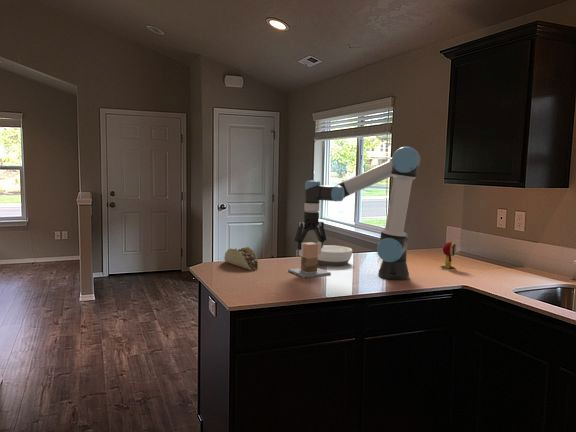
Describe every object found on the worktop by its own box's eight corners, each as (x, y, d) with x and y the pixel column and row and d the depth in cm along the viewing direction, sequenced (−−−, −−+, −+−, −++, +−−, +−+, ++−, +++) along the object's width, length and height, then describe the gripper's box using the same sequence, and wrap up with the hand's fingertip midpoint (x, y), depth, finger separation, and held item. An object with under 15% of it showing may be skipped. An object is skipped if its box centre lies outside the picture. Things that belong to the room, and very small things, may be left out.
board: (330, 275, 250) (330, 272, 250) (303, 277, 242) (303, 275, 242) (314, 269, 263) (314, 266, 263) (288, 271, 255) (288, 269, 255)
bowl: (306, 264, 274) (307, 249, 273) (318, 257, 295) (319, 244, 294) (346, 269, 266) (347, 253, 265) (355, 261, 287) (356, 247, 286)
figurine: (455, 271, 269) (457, 244, 267) (436, 269, 274) (438, 242, 272) (458, 268, 276) (460, 242, 274) (440, 266, 281) (442, 240, 279)
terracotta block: (317, 257, 251) (318, 244, 250) (307, 258, 248) (308, 244, 247) (311, 255, 256) (311, 242, 255) (301, 256, 253) (301, 242, 252)
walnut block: (317, 271, 252) (317, 257, 251) (307, 272, 249) (307, 258, 248) (310, 269, 257) (311, 255, 256) (300, 269, 254) (301, 256, 253)
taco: (247, 272, 251) (247, 252, 250) (219, 263, 272) (219, 244, 271) (262, 270, 257) (263, 251, 256) (234, 261, 278) (234, 243, 277)
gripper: (326, 210, 258) (324, 252, 261) (288, 211, 247) (286, 255, 249) (334, 211, 252) (332, 255, 254) (295, 212, 240) (294, 258, 243)
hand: (310, 255), depth 252 cm, fingers open, 10 cm apart
